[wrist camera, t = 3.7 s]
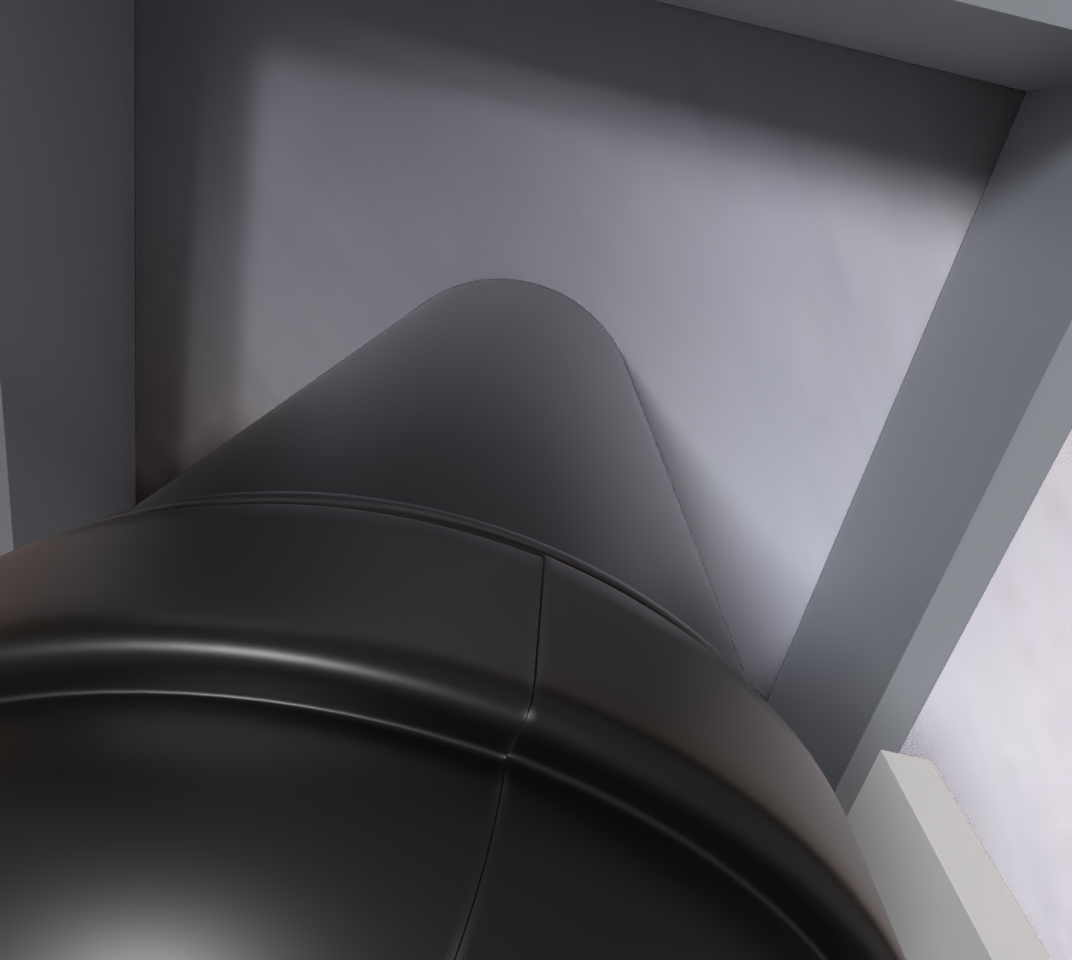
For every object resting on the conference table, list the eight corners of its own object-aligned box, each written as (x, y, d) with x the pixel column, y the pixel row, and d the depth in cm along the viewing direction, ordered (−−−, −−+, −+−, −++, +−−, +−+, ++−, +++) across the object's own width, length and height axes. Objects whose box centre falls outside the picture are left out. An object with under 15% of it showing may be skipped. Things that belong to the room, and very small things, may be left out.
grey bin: (105, 655, 29) (-7, 772, 23) (85, -197, 18) (-126, -355, 13) (761, 788, 30) (803, 930, 24) (1091, 51, 19) (1297, 5, 14)
